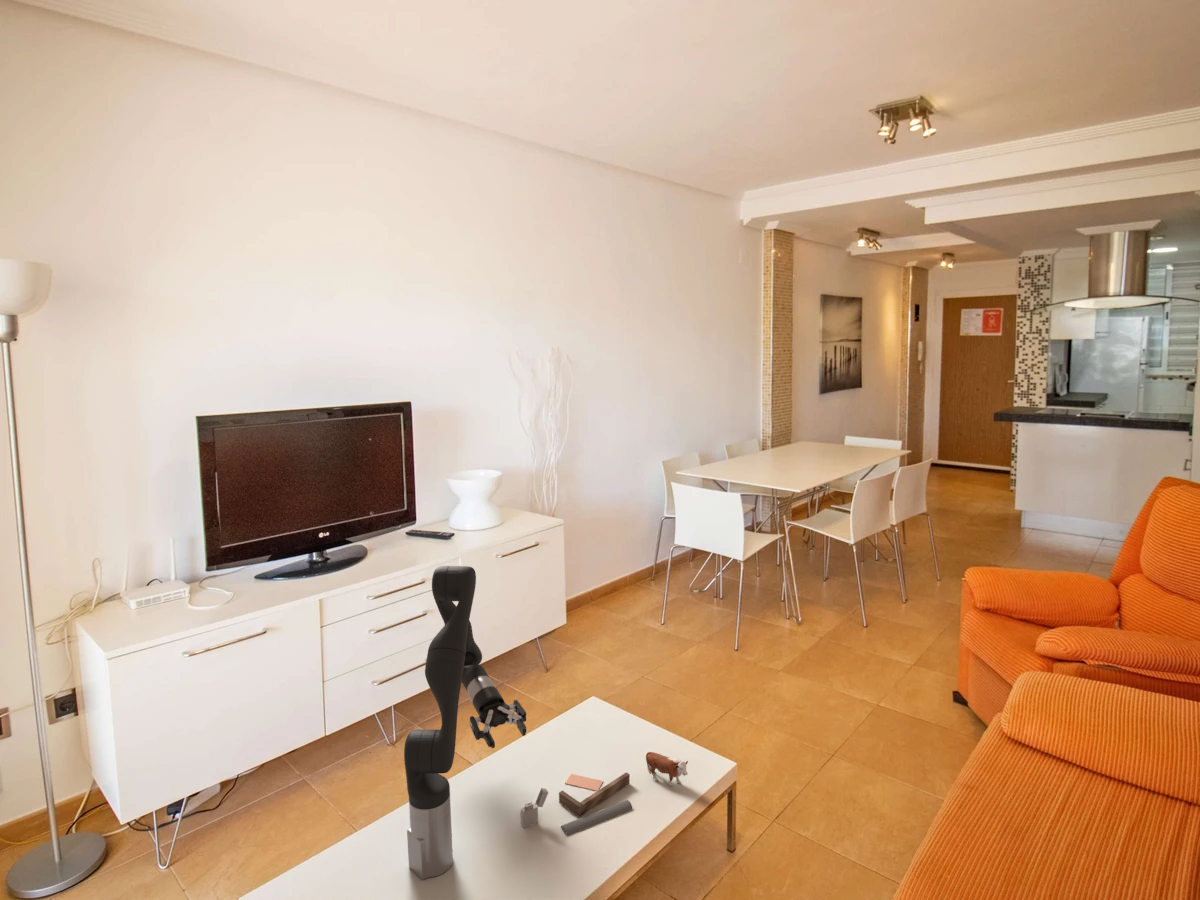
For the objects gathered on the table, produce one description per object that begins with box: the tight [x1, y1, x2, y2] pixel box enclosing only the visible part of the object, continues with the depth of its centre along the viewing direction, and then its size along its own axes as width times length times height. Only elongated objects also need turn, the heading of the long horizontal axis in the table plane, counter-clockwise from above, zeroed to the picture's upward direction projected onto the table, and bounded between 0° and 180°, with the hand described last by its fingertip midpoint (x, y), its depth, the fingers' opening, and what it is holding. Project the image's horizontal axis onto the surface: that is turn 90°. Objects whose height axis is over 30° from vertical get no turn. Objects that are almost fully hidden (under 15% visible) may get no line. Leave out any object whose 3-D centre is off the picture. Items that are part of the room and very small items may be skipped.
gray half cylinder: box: [560, 799, 633, 837], centre depth 177 cm, size 4×20×2 cm, turn 120°
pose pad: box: [565, 773, 604, 792], centre depth 191 cm, size 4×10×1 cm, turn 70°
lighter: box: [520, 787, 549, 828], centre depth 175 cm, size 7×2×8 cm, turn 120°
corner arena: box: [558, 772, 630, 818], centre depth 186 cm, size 19×8×3 cm, turn 135°
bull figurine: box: [645, 751, 689, 787], centre depth 191 cm, size 4×13×8 cm, turn 53°
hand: (509, 739), depth 177 cm, fingers open, 8 cm apart
